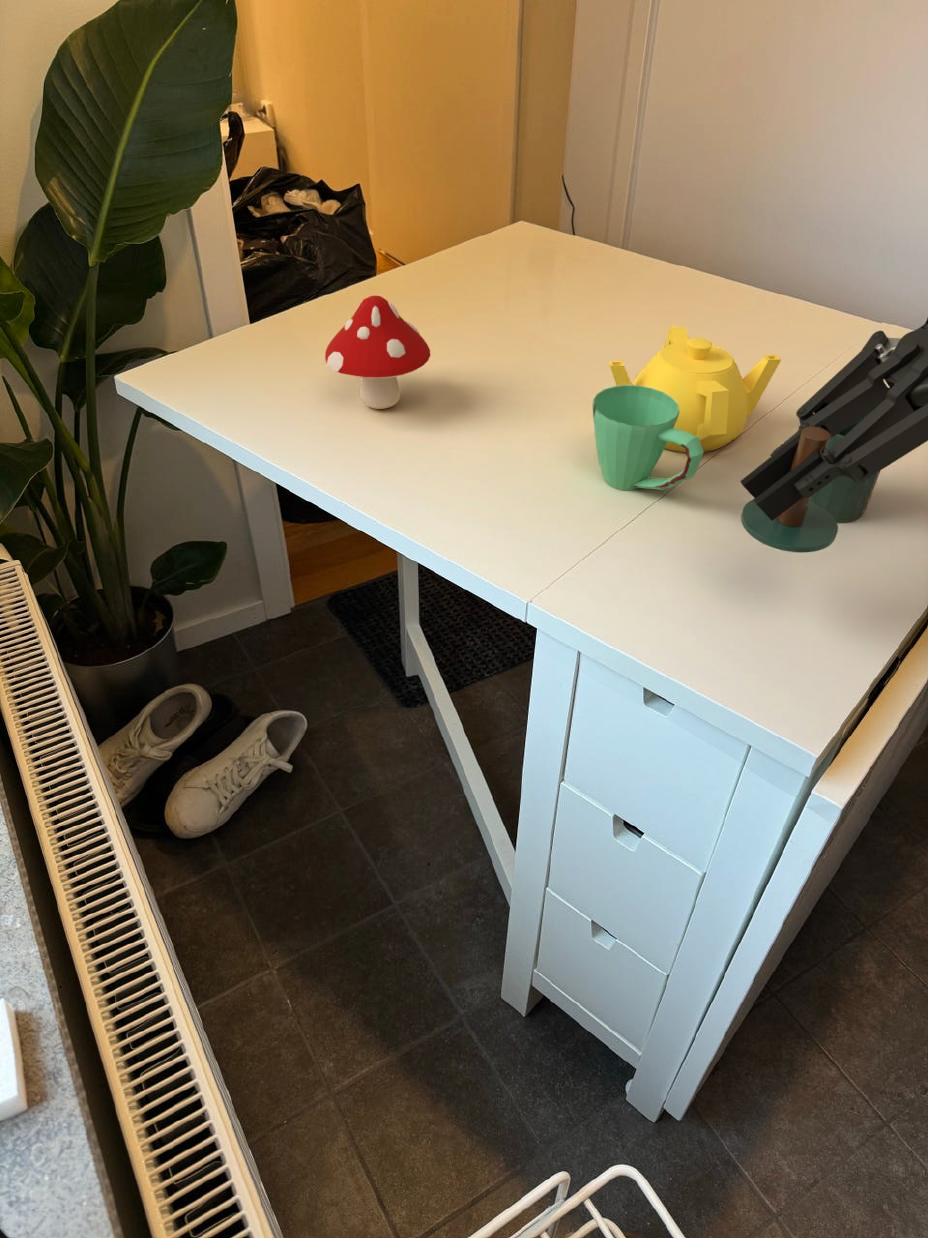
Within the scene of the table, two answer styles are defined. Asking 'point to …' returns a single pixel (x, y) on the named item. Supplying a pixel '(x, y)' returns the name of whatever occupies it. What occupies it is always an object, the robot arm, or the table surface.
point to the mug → (639, 437)
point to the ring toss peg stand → (795, 510)
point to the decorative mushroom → (377, 351)
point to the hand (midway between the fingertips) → (756, 500)
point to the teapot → (702, 387)
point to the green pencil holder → (845, 491)
